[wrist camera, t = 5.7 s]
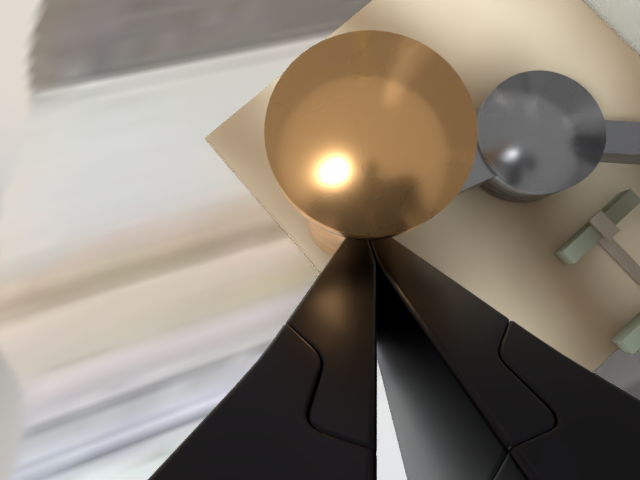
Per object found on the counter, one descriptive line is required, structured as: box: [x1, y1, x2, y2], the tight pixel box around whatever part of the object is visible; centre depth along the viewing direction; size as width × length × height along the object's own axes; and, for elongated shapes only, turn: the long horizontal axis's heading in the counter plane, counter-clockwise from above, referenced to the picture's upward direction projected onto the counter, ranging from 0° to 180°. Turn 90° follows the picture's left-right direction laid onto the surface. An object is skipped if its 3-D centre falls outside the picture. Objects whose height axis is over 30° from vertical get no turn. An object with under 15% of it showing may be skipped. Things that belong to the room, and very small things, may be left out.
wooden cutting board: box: [205, 0, 640, 372], centre depth 17 cm, size 16×17×2 cm
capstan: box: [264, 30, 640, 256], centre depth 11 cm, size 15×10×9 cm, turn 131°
